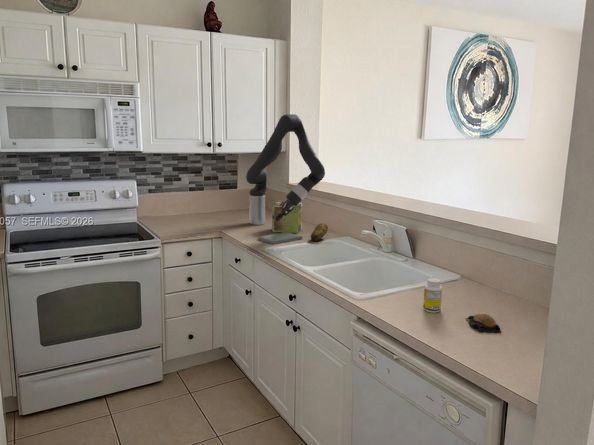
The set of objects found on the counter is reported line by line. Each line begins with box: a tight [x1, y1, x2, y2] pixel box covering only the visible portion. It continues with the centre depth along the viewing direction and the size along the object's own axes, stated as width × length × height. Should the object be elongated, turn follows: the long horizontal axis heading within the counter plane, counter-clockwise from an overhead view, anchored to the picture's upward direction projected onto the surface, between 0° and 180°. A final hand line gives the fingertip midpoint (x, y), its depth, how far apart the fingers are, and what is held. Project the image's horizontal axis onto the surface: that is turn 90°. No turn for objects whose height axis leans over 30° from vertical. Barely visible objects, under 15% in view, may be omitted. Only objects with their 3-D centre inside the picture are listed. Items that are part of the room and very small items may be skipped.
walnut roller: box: [274, 206, 283, 231], centre depth 248 cm, size 5×5×12 cm
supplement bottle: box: [423, 277, 443, 314], centre depth 155 cm, size 6×6×10 cm
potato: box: [310, 223, 329, 242], centre depth 250 cm, size 8×13×8 cm, turn 133°
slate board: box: [257, 232, 303, 245], centre depth 251 cm, size 13×19×2 cm
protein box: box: [271, 201, 303, 234], centre depth 271 cm, size 10×15×16 cm
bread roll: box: [465, 313, 503, 334], centre depth 144 cm, size 11×9×4 cm
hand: (274, 219), depth 247 cm, fingers closed on walnut roller, 4 cm apart
